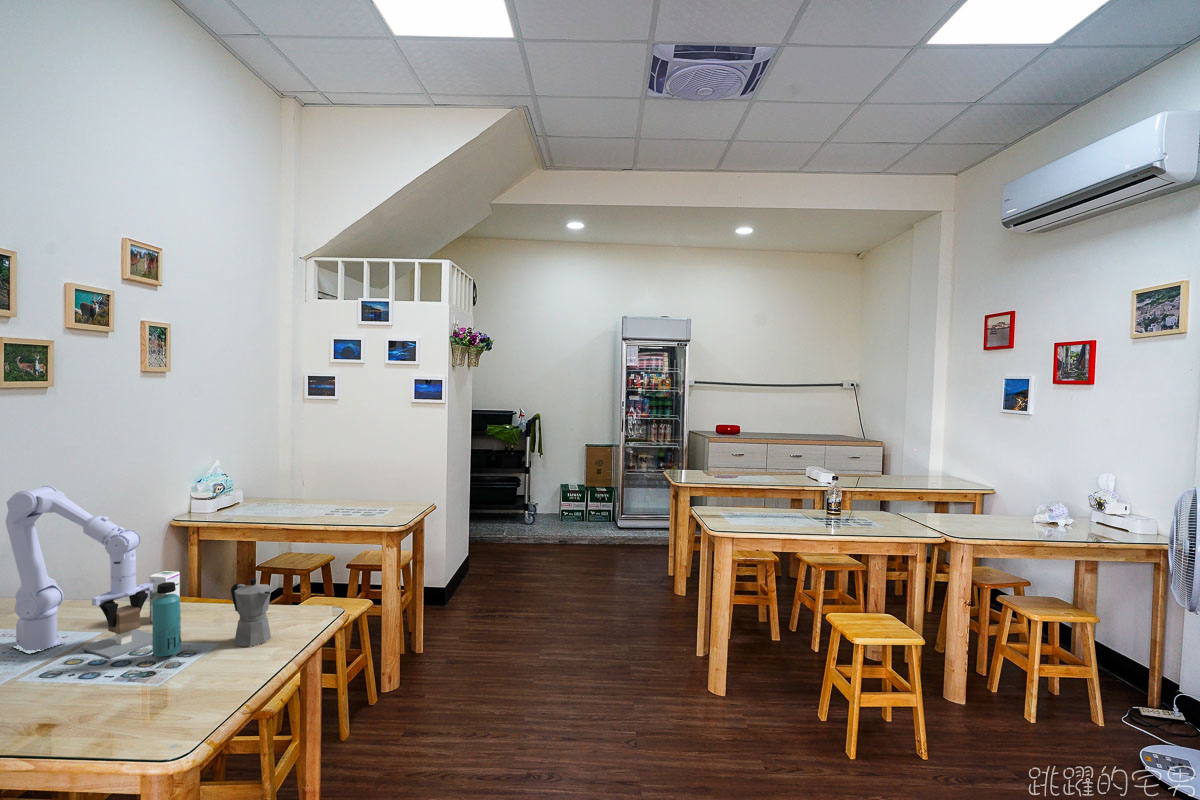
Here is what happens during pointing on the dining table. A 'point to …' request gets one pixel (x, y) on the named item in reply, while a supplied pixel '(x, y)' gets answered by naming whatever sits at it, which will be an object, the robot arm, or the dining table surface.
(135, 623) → the brown shipping carton
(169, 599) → the beverage bottle
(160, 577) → the syrup box
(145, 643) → the flat grey base plate
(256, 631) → the coffeepot
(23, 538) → the robot arm
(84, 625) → the dining table surface
